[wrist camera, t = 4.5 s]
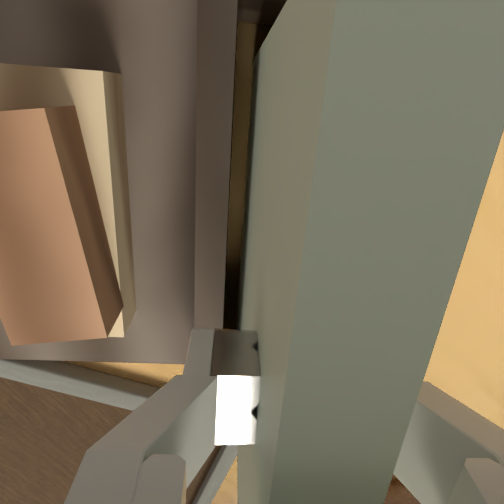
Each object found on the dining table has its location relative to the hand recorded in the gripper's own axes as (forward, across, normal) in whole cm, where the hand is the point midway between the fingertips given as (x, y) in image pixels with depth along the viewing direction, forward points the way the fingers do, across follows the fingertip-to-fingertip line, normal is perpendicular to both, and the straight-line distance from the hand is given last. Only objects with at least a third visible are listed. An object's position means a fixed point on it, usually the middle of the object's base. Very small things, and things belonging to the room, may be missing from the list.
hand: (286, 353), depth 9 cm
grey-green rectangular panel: (+12, 0, 0) cm, 12 cm away
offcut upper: (+8, +9, 0) cm, 12 cm away
